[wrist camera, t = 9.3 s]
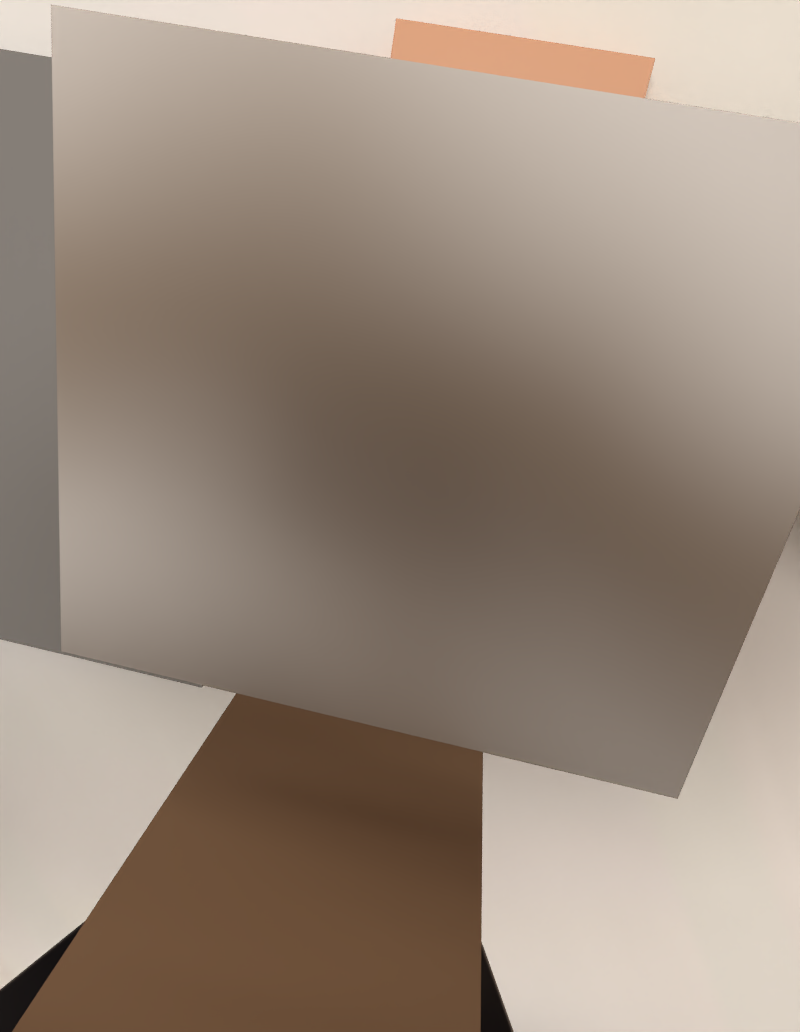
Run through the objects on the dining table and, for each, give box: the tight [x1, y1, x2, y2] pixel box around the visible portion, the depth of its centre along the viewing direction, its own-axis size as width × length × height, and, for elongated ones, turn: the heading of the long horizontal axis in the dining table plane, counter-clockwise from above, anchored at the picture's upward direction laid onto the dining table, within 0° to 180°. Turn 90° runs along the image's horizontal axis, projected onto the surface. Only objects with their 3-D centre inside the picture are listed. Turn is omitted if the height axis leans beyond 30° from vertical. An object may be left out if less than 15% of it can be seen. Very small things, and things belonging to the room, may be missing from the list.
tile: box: [391, 18, 655, 98], centre depth 15 cm, size 6×2×6 cm
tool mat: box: [0, 49, 203, 687], centre depth 19 cm, size 10×18×1 cm, turn 170°
